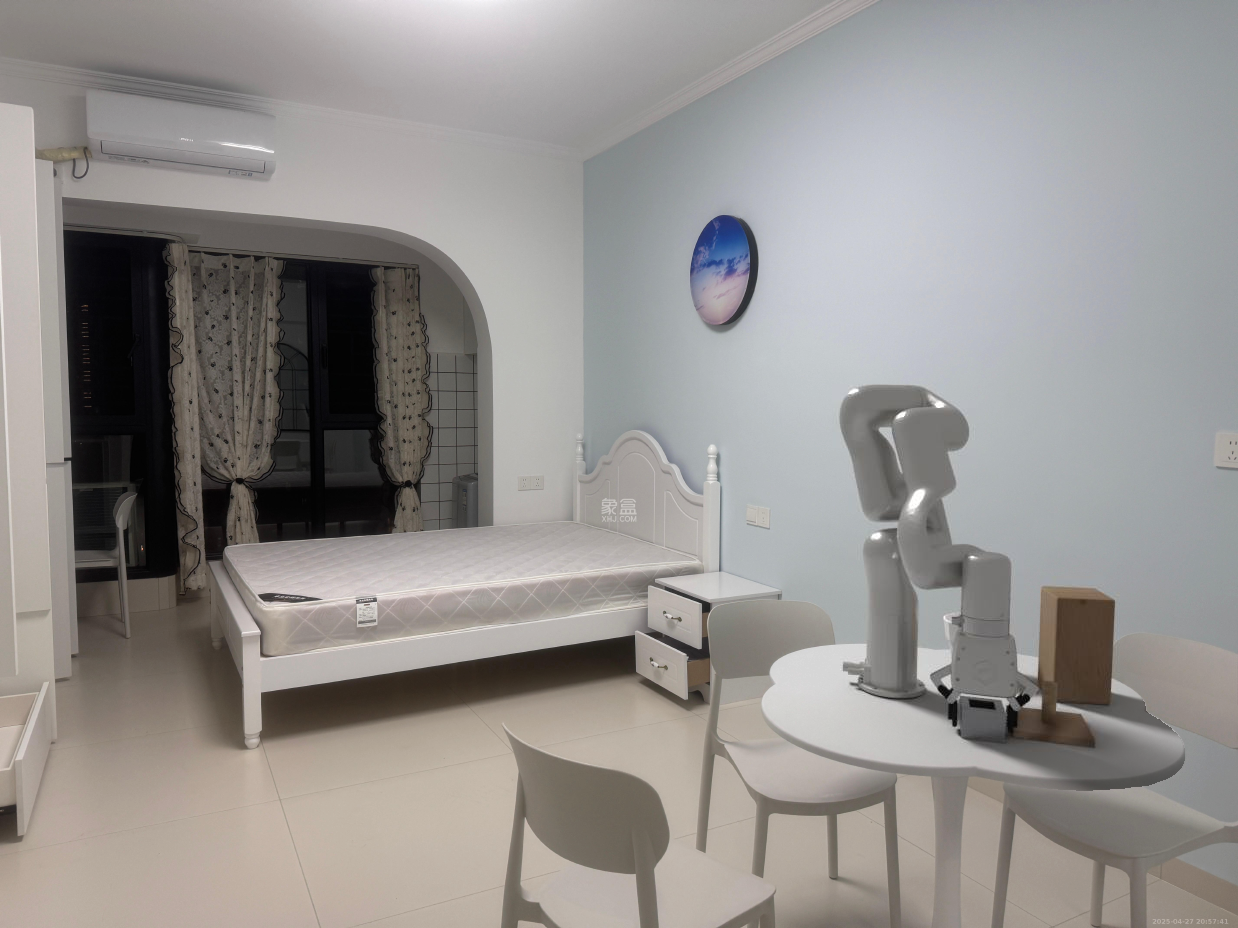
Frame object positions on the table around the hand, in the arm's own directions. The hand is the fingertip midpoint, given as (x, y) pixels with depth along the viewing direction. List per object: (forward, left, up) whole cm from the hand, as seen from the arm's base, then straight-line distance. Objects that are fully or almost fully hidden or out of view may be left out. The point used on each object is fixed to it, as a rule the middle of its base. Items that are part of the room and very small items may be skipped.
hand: (981, 726), depth 138 cm
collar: (0, 0, -1) cm, 1 cm away
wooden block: (+18, +26, -1) cm, 32 cm away
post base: (+11, +6, -1) cm, 13 cm away
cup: (+1, +34, -1) cm, 34 cm away
